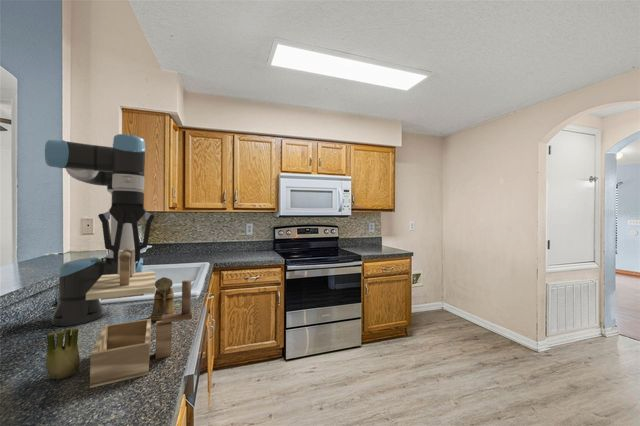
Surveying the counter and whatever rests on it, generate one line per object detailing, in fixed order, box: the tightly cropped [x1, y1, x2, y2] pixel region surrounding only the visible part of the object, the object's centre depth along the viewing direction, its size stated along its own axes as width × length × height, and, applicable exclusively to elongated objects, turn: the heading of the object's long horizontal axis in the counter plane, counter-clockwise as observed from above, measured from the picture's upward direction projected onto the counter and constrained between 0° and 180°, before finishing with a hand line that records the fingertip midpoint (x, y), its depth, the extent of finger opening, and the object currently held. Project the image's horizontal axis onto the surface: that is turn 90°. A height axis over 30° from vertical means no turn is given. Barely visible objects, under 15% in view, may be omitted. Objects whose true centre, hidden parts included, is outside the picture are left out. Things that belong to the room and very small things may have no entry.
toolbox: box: [89, 318, 173, 389], centre depth 80 cm, size 20×18×10 cm
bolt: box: [162, 279, 193, 324], centre depth 85 cm, size 3×8×12 cm, turn 120°
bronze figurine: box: [150, 277, 176, 322], centre depth 111 cm, size 9×14×18 cm, turn 27°
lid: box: [86, 248, 156, 301], centre depth 79 cm, size 22×14×11 cm, turn 30°
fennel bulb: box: [45, 327, 81, 380], centre depth 71 cm, size 6×5×12 cm
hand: (126, 273), depth 79 cm, fingers closed on lid, 2 cm apart
